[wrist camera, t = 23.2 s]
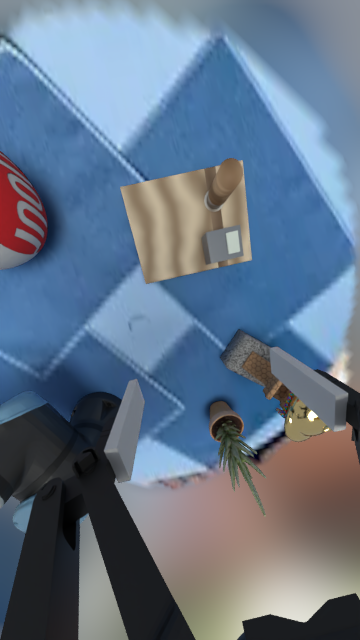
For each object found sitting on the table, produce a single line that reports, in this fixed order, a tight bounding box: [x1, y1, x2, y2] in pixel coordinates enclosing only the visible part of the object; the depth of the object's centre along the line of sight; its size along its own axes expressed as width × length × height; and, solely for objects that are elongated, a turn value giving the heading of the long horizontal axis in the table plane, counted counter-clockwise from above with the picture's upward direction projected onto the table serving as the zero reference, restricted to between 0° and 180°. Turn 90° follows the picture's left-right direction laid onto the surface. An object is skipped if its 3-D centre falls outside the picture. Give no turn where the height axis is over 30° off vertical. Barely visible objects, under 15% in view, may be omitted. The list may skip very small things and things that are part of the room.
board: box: [120, 160, 252, 284], centre depth 38 cm, size 26×20×2 cm
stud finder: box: [201, 225, 244, 265], centre depth 36 cm, size 7×6×5 cm
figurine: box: [220, 330, 331, 442], centre depth 37 cm, size 14×11×25 cm
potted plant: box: [209, 401, 266, 516], centre depth 41 cm, size 10×10×25 cm
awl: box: [207, 158, 243, 209], centre depth 32 cm, size 4×4×10 cm
